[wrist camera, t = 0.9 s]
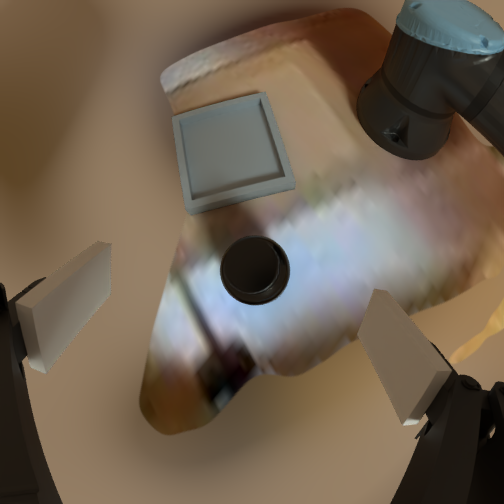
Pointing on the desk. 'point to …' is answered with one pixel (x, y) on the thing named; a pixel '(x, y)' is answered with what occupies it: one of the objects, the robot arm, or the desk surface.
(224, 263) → the supplement bottle
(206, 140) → the tray
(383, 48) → the desk surface
